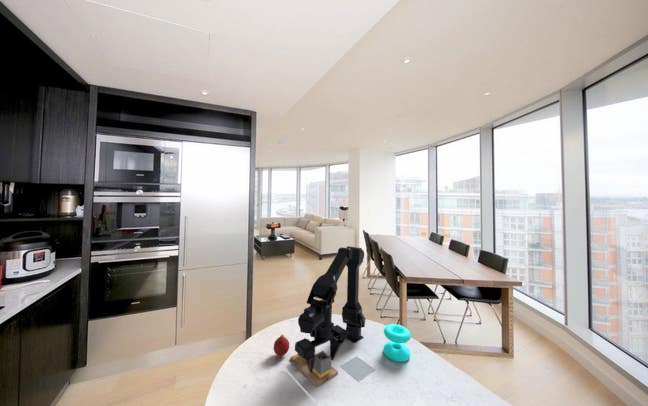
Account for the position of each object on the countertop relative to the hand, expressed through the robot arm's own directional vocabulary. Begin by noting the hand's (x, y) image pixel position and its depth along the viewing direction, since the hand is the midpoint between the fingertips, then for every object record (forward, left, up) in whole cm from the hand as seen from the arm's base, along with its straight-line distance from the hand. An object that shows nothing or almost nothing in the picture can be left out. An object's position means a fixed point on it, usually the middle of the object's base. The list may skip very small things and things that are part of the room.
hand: (321, 365), depth 78 cm
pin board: (0, -4, -3) cm, 6 cm away
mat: (-12, +6, -3) cm, 14 cm away
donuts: (-30, +10, -4) cm, 32 cm away
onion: (+6, -16, -3) cm, 18 cm away
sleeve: (0, 0, -2) cm, 2 cm away
